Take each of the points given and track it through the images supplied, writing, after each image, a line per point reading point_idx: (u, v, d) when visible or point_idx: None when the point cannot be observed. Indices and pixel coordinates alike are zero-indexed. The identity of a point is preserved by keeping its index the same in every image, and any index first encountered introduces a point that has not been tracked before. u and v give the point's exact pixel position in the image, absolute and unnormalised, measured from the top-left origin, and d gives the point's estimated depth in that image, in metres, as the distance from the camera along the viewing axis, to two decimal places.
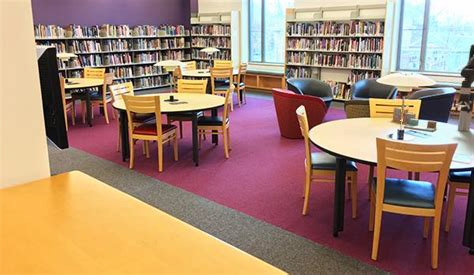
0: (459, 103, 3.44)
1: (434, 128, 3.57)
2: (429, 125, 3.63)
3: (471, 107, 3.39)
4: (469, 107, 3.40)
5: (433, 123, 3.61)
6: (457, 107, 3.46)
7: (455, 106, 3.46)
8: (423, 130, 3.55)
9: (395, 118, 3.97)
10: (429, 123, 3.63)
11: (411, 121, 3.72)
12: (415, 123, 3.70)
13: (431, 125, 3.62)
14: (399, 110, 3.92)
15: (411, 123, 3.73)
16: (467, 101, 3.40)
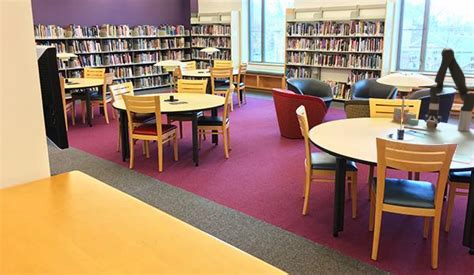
0: (429, 118, 3.64)
1: (434, 128, 3.57)
2: (429, 125, 3.63)
3: (438, 122, 3.60)
4: (436, 122, 3.61)
5: (433, 123, 3.61)
6: None
7: (426, 121, 3.66)
8: (423, 130, 3.55)
9: (395, 118, 3.97)
10: (429, 123, 3.63)
11: (411, 121, 3.72)
12: (415, 123, 3.70)
13: (431, 125, 3.62)
14: (399, 110, 3.91)
15: (411, 123, 3.73)
16: (436, 116, 3.60)
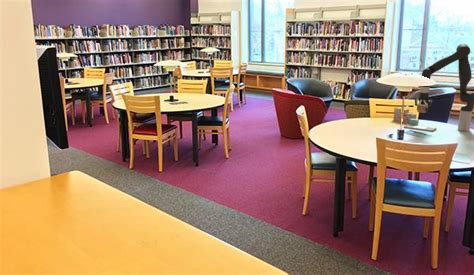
0: (419, 102, 3.57)
1: (434, 128, 3.57)
2: (420, 109, 3.56)
3: (429, 106, 3.53)
4: (427, 106, 3.54)
5: (424, 107, 3.54)
6: None
7: (417, 105, 3.59)
8: (423, 130, 3.55)
9: (396, 118, 3.96)
10: (420, 107, 3.56)
11: (411, 121, 3.72)
12: (415, 123, 3.70)
13: (422, 109, 3.55)
14: (400, 110, 3.91)
15: (411, 123, 3.73)
16: (426, 100, 3.54)
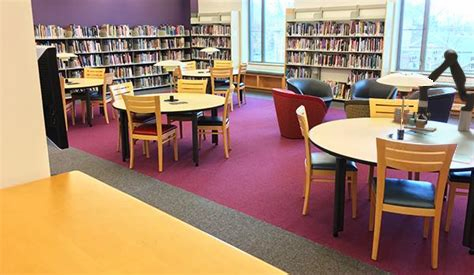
0: (417, 115, 3.60)
1: (434, 128, 3.57)
2: (418, 124, 3.60)
3: (428, 119, 3.55)
4: (426, 119, 3.56)
5: (422, 122, 3.57)
6: (416, 119, 3.63)
7: (414, 118, 3.63)
8: (423, 130, 3.55)
9: (396, 118, 3.96)
10: (418, 122, 3.59)
11: (411, 121, 3.72)
12: None
13: (420, 124, 3.59)
14: (400, 110, 3.91)
15: (411, 123, 3.73)
16: (424, 113, 3.56)
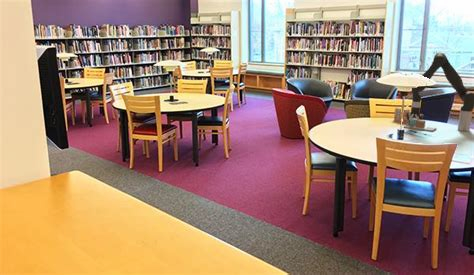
0: (411, 116, 3.73)
1: (434, 128, 3.57)
2: (418, 124, 3.60)
3: None
4: None
5: (422, 122, 3.57)
6: None
7: (409, 119, 3.75)
8: (423, 130, 3.55)
9: (396, 118, 3.95)
10: (418, 122, 3.59)
11: (411, 121, 3.72)
12: (415, 123, 3.70)
13: (420, 124, 3.59)
14: (400, 110, 3.90)
15: (411, 123, 3.73)
16: (418, 114, 3.69)
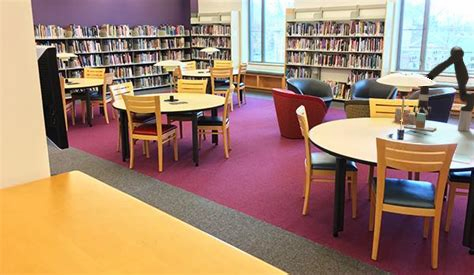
0: (418, 109, 3.59)
1: (434, 128, 3.57)
2: (418, 124, 3.60)
3: (429, 113, 3.54)
4: (427, 113, 3.55)
5: (422, 122, 3.57)
6: (416, 113, 3.61)
7: (415, 112, 3.62)
8: (423, 130, 3.55)
9: (397, 118, 3.95)
10: (418, 122, 3.59)
11: (418, 115, 3.58)
12: (422, 118, 3.56)
13: (420, 124, 3.59)
14: None
15: (418, 118, 3.58)
16: (425, 107, 3.55)
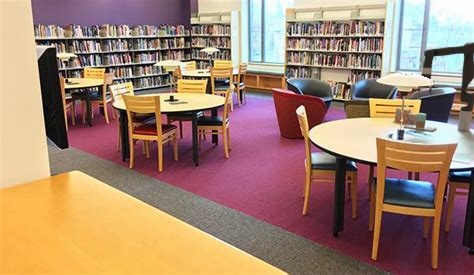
0: None
1: (434, 128, 3.57)
2: (418, 124, 3.60)
3: (432, 86, 3.49)
4: (430, 87, 3.50)
5: (422, 122, 3.57)
6: (419, 87, 3.56)
7: None
8: (423, 130, 3.55)
9: (397, 119, 3.94)
10: (418, 122, 3.59)
11: (418, 115, 3.58)
12: (422, 118, 3.56)
13: (420, 124, 3.59)
14: None
15: (418, 118, 3.58)
16: None
